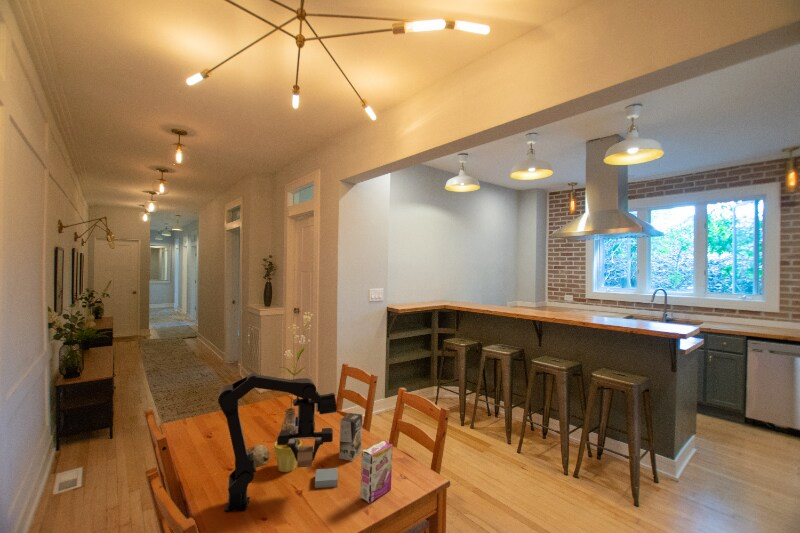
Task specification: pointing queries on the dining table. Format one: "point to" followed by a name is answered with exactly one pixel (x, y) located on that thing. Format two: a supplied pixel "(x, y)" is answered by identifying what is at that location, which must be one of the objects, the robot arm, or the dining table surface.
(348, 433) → the coffee box
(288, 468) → the plant pot
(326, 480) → the plinth
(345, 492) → the dining table surface
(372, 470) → the candy bar box
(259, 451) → the grey rounded lump
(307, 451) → the walnut cube
